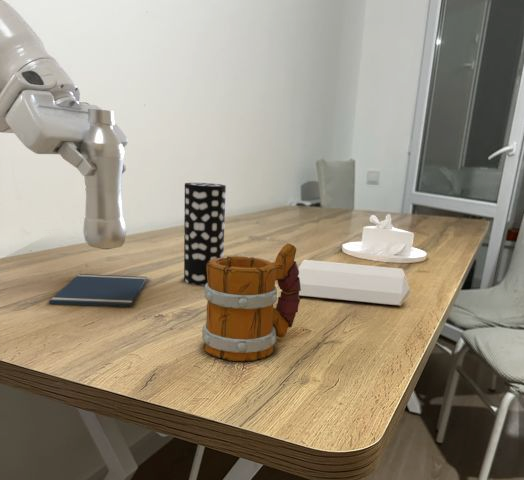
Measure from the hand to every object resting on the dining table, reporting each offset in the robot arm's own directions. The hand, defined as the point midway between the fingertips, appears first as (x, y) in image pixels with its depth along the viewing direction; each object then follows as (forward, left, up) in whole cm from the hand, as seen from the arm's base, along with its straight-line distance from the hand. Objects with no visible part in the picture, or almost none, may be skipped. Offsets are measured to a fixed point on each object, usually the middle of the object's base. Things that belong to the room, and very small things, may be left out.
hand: (106, 172), depth 78 cm
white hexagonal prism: (+44, +18, -23) cm, 52 cm away
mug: (+23, -11, -23) cm, 34 cm away
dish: (+66, +69, -23) cm, 98 cm away
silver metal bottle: (-1, 0, -12) cm, 12 cm away
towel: (-5, +16, -23) cm, 29 cm away
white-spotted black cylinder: (+14, +27, -23) cm, 38 cm away
